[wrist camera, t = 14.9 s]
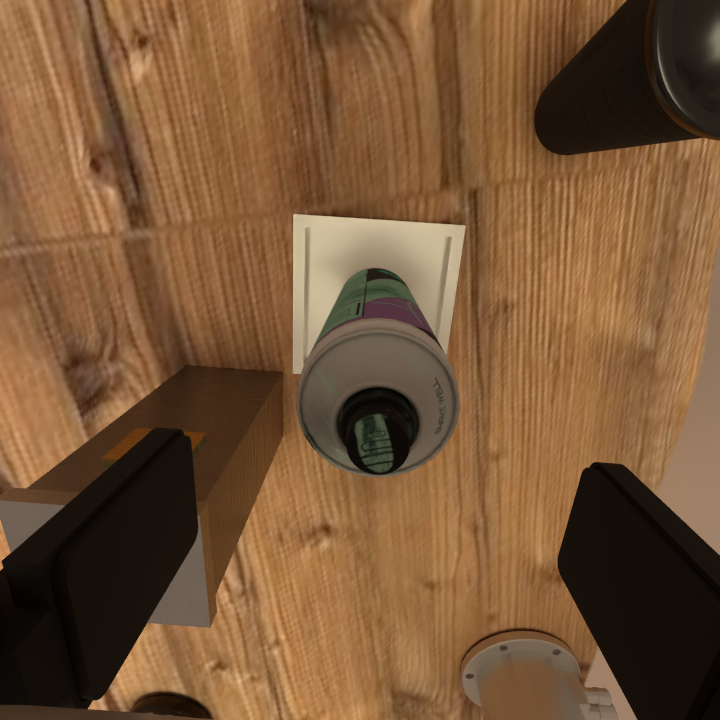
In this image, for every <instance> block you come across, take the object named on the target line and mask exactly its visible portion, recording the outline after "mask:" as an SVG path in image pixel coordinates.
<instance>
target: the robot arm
mask: <svg viewBox="0 0 720 720" xmlns="http://www.w3.org/2000/svg"><path fill="white" fill-rule="evenodd" d="M197 534H198V515H197V504H196V492H195V480H194V468H193V456H192V444H191V439H190V437H189V436H185V434H184V432H183V430H181V429H173V428H160V427H156V428H154V429H153V430H152V431H150V432H149V433H148V434H147V435H146V436H145V437H144V438H142V439H141V440H140V441H139V442H138V443H137V444H136V445H134V446H133V447H132V448H131V449H130V450H129V451H127V452H126V453H125V454H124V455H123V456H122V457H121V458H119V459H118V460H117V461H116V462H115V463H114V464H113V465H111V466H110V467H109V468H108V469H107V470H106V471H105V472H103V473H102V474H101V475H100V476H99V477H98V478H96V479H95V480H94V481H93V482H92V483H91V484H90V485H88V486H87V487H86V488H85V489H84V490H83V491H82V492H80V493H79V494H78V495H77V496H76V497H75V498H74V499H72V500H71V501H70V502H69V503H68V504H67V505H65V506H64V507H63V508H62V509H61V510H60V511H59V512H57V513H56V514H55V515H54V516H53V517H52V518H51V519H49V520H48V521H47V522H46V523H45V524H44V525H43V526H41V527H40V528H39V529H38V530H37V531H36V532H34V533H33V534H32V535H31V536H30V537H29V538H28V539H26V540H25V541H24V542H23V543H22V544H21V545H20V546H18V547H17V548H16V549H15V550H14V551H13V552H12V553H10V554H9V555H8V556H7V557H6V558H5V559H3V560H2V564H3V567H4V568H3V569H2V570H1V571H0V720H212V719H201V718H190V717H179V716H167V715H156V714H145V713H134V712H119V711H105V710H90V709H88V707H89V706H90V704H91V702H92V701H93V700H98V699H100V698H101V697H102V696H103V695H104V694H105V693H106V691H107V690H108V688H109V686H110V685H111V683H112V681H113V680H114V678H115V676H116V675H117V673H118V671H119V670H120V668H121V666H122V664H123V663H124V661H125V659H126V658H127V656H128V654H129V653H130V651H131V649H132V648H133V646H134V644H135V643H136V641H137V639H138V637H139V636H140V634H141V632H142V631H143V629H144V627H145V626H146V624H147V622H148V621H149V619H150V617H151V616H152V614H153V612H154V610H155V609H156V607H157V605H158V604H159V602H160V600H161V599H162V597H163V595H164V594H165V592H166V590H167V589H168V587H169V585H170V583H171V582H172V580H173V578H174V577H175V575H176V573H177V572H178V570H179V568H180V567H181V565H182V563H183V562H184V560H185V558H186V556H187V555H188V553H189V551H190V550H191V548H192V546H193V545H194V543H195V541H196V538H197ZM558 569H559V573H560V575H561V577H562V579H563V581H564V583H565V584H566V586H567V588H568V590H569V592H570V594H571V596H572V598H573V599H574V601H575V603H576V605H577V607H578V609H579V611H580V613H581V614H582V616H583V618H584V620H585V622H586V624H587V626H588V628H589V629H590V631H591V633H592V635H593V637H594V639H595V641H596V643H597V644H598V646H599V648H600V650H601V652H602V654H603V656H604V658H605V659H606V661H607V663H608V665H609V667H610V669H611V671H612V673H613V674H614V676H615V678H616V680H617V682H618V684H619V686H620V687H621V689H622V691H623V693H624V695H625V697H626V699H627V701H628V703H629V704H630V706H631V708H632V710H633V712H634V714H635V716H636V717H637V719H638V720H720V555H718V553H716V552H715V551H714V550H713V549H712V548H711V547H710V546H709V545H708V544H707V543H706V542H705V541H704V540H703V539H702V538H701V537H700V536H698V535H697V534H696V533H695V532H694V531H693V530H692V529H691V528H690V527H689V526H688V525H687V524H686V523H685V522H684V521H683V520H681V519H680V518H679V517H678V516H677V515H676V514H675V513H674V512H673V511H672V510H671V509H670V508H669V507H668V506H667V505H666V504H664V503H663V502H662V501H661V500H660V499H659V498H658V497H657V496H656V495H655V494H654V493H653V492H652V491H651V490H650V489H649V488H648V487H647V486H645V485H644V484H643V483H642V482H641V481H640V480H639V479H638V478H637V477H636V476H635V475H634V474H633V473H632V472H631V471H630V470H629V469H627V468H626V467H625V466H624V465H622V464H613V463H601V462H594V463H592V464H591V465H590V467H589V468H585V469H584V470H583V472H582V474H581V478H580V481H579V485H578V488H577V492H576V495H575V499H574V502H573V506H572V509H571V513H570V516H569V520H568V523H567V527H566V531H565V534H564V538H563V541H562V545H561V548H560V552H559V555H558ZM460 676H461V681H462V687H463V689H464V692H465V694H466V695H467V696H468V698H469V699H470V700H471V701H472V702H473V703H475V704H476V705H477V706H479V707H481V708H482V711H483V716H484V720H618V716H617V712H616V710H615V707H614V706H613V704H612V701H611V696H610V693H609V692H608V690H607V689H605V688H596V687H593V688H586V687H585V686H584V685H583V684H581V683H580V681H579V680H580V668H579V665H578V663H577V660H576V658H575V656H574V654H573V653H572V651H571V649H570V648H569V647H568V646H567V645H565V644H564V643H563V642H561V641H560V640H558V639H557V638H554V637H552V636H549V635H547V634H543V633H539V632H534V631H511V632H506V633H501V634H498V635H495V636H492V637H489V638H487V639H485V640H483V641H481V642H480V643H479V644H477V645H476V646H474V647H473V648H472V649H471V650H470V651H469V652H468V653H467V655H466V656H465V658H464V660H463V662H462V665H461V668H460Z"/></svg>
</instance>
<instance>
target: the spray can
mask: <svg viewBox="0 0 720 720" xmlns="http://www.w3.org/2000/svg"><path fill="white" fill-rule="evenodd" d="M297 413H298V419H299V423H300V426H301V428H302V431H303V433H304V436H305V437H306V439H307V440H308V442H309V443H310V445H311V446H312V447H313V448H314V449H315V451H316V452H317V453H318V454H319V455H320V456H321V457H322V458H324V459H325V460H327V461H328V462H330V463H331V464H332V465H334V466H336V467H338V468H340V469H342V470H344V471H347V472H349V473H353V474H357V475H361V476H368V477H388V476H395V475H399V474H403V473H407V472H409V471H412V470H414V469H416V468H418V467H420V466H422V465H423V464H425V463H426V462H428V461H430V460H431V459H432V458H433V457H434V456H436V455H437V454H438V453H439V452H440V451H441V450H442V449H443V447H444V446H445V444H446V443H447V442H448V440H449V439H450V437H451V435H452V433H453V431H454V428H455V426H456V424H457V419H458V414H459V393H458V389H457V381H456V377H455V373H454V370H453V368H452V366H451V364H450V362H449V360H448V358H447V356H446V354H445V352H444V350H443V349H442V347H441V345H440V343H439V342H438V340H437V338H436V336H435V334H434V333H433V331H432V329H431V327H430V326H429V324H428V322H427V320H426V319H425V317H424V315H423V313H422V311H421V310H420V308H419V306H418V304H417V303H416V301H415V299H414V297H413V295H412V294H411V292H410V290H409V288H408V287H407V285H406V284H405V282H404V281H403V280H402V279H401V278H400V277H399V276H398V275H397V274H395V273H393V272H391V271H390V270H387V269H383V268H367V269H364V270H361V271H359V272H357V273H356V274H354V275H353V276H352V277H350V278H349V279H348V280H347V282H346V283H345V284H344V286H343V288H342V290H341V292H340V294H339V296H338V298H337V300H336V302H335V304H334V306H333V308H332V310H331V312H330V314H329V316H328V318H327V320H326V322H325V324H324V326H323V328H322V330H321V332H320V334H319V336H318V338H317V340H316V342H315V344H314V346H313V348H312V350H311V352H310V354H309V356H308V358H307V360H306V362H305V364H304V366H303V368H302V372H301V375H300V379H299V383H298V392H297Z"/></svg>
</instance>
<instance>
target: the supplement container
mask: <svg viewBox="0 0 720 720" xmlns="http://www.w3.org/2000/svg"><path fill="white" fill-rule="evenodd" d="M129 712H134V713H145V714H156V715H167V716H179V717H190V718H201V719H209V718H208V716H207V715H206V713H205V712H204V711H203V710H202V709H201V708H200V707H199V706H198V705H196V704H195V703H193V702H191V701H189V700H187V699H184V698H181V697H178V696H172V695H158V696H152V697H149V698H146V699H144V700H142V701H140V702H138V703H137V704H136V705H135V706H134V707H133V708H132V709H131V710H130V711H129Z"/></svg>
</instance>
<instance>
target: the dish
mask: <svg viewBox="0 0 720 720" xmlns="http://www.w3.org/2000/svg"><path fill="white" fill-rule="evenodd" d="M465 227H466V225H451V224H436V223H421V222H406V221H391V220H376V219H361V218H346V217H331V216H316V215H301V214H293V374H301V372H302V368H303V366H304V364H305V362H306V360H307V358H308V356H309V354H310V352H311V350H312V348H313V346H314V344H315V342H316V340H317V338H318V336H319V334H320V332H321V330H322V328H323V326H324V324H325V322H326V320H327V318H328V316H329V314H330V312H331V310H332V308H333V306H334V304H335V302H336V300H337V298H338V296H339V294H340V292H341V290H342V288H343V286H344V284H345V283H346V282H347V280H348V279H349V278H350V277H352V276H353V275H354V274H356V273H357V272H359V271H361V270H364V269H367V268H383V269H387V270H390V271H391V272H393V273H395V274H397V275H398V276H399V277H400V278H401V279H402V280H403V281H404V282H405V284H406V285H407V287H408V288H409V290H410V292H411V294H412V295H413V297H414V299H415V301H416V303H417V304H418V306H419V308H420V310H421V311H422V313H423V315H424V317H425V319H426V320H427V322H428V324H429V326H430V327H431V329H432V331H433V333H434V334H435V336H436V338H437V340H438V342H439V343H440V345H441V347H442V349H443V350H444V352H445V354H446V356H447V349H448V343H449V336H450V329H451V322H452V315H453V309H454V302H455V295H456V288H457V281H458V275H459V268H460V261H461V254H462V247H463V241H464V234H465Z"/></svg>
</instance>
